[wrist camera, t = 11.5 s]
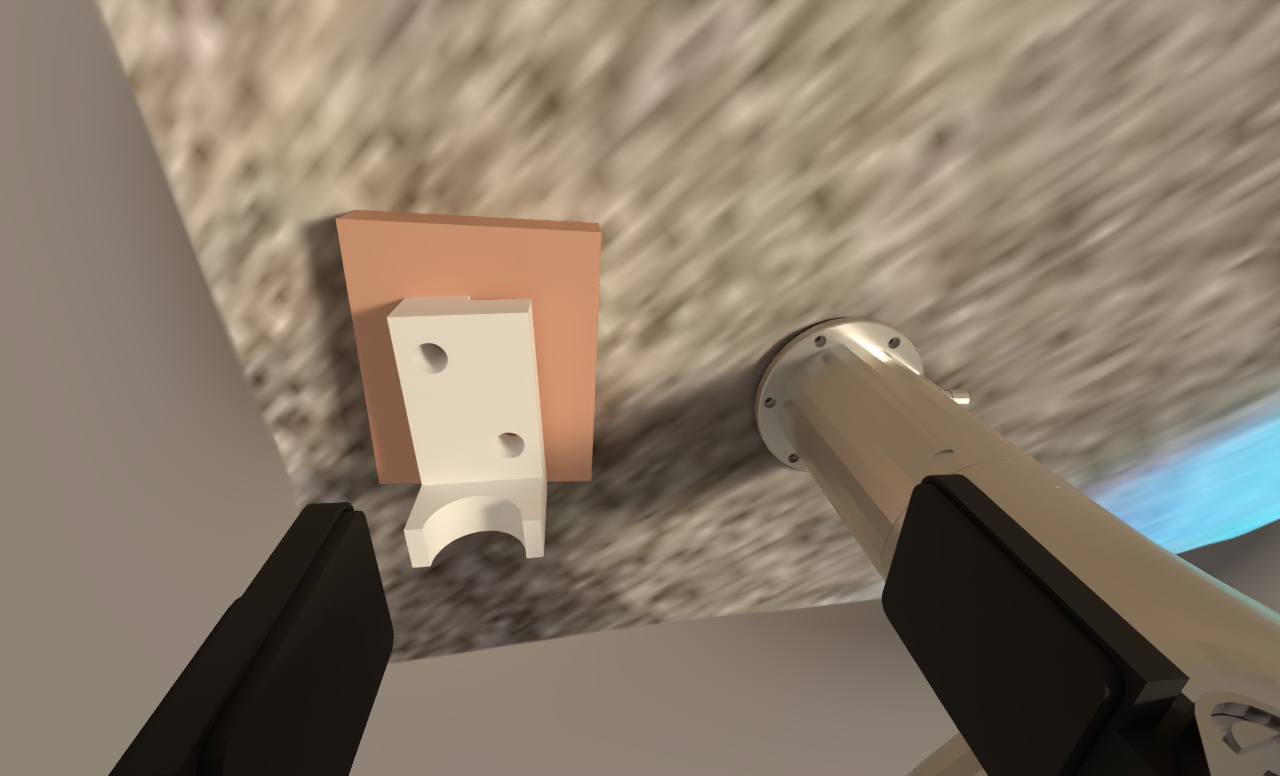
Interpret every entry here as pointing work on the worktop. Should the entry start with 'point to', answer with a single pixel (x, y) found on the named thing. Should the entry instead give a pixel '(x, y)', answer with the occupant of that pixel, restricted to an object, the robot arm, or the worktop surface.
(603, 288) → the worktop surface
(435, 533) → the bracket
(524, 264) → the riser block
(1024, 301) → the worktop surface
